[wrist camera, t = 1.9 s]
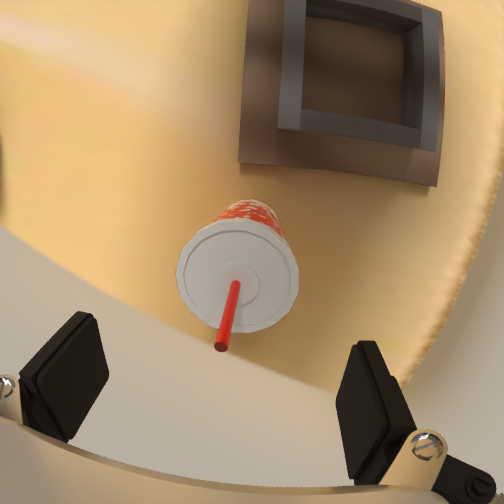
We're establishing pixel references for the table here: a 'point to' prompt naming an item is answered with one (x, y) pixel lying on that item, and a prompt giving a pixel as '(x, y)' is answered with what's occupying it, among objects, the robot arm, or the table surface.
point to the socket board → (344, 87)
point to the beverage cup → (239, 272)
